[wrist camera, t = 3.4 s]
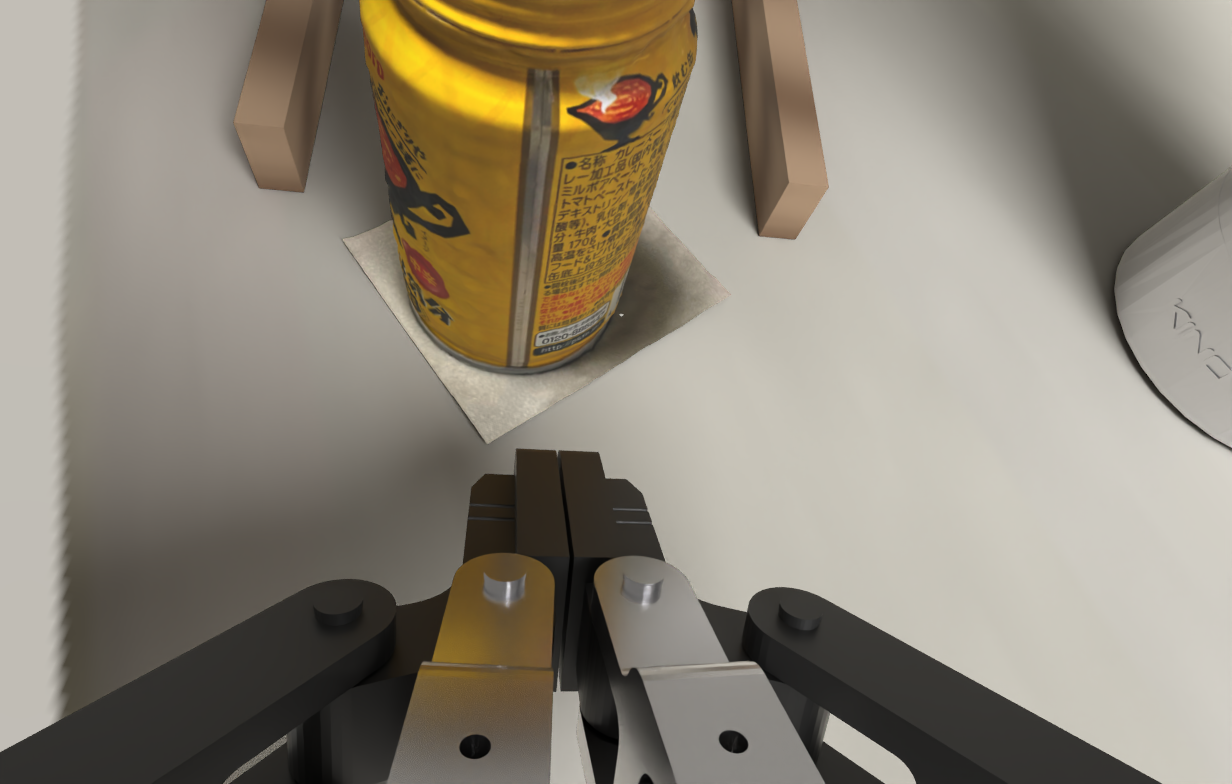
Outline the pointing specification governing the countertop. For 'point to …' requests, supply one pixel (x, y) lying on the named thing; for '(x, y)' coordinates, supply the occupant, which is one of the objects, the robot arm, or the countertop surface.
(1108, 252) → the countertop surface
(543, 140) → the condiment
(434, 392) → the countertop surface
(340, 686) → the robot arm
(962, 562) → the countertop surface
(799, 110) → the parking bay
